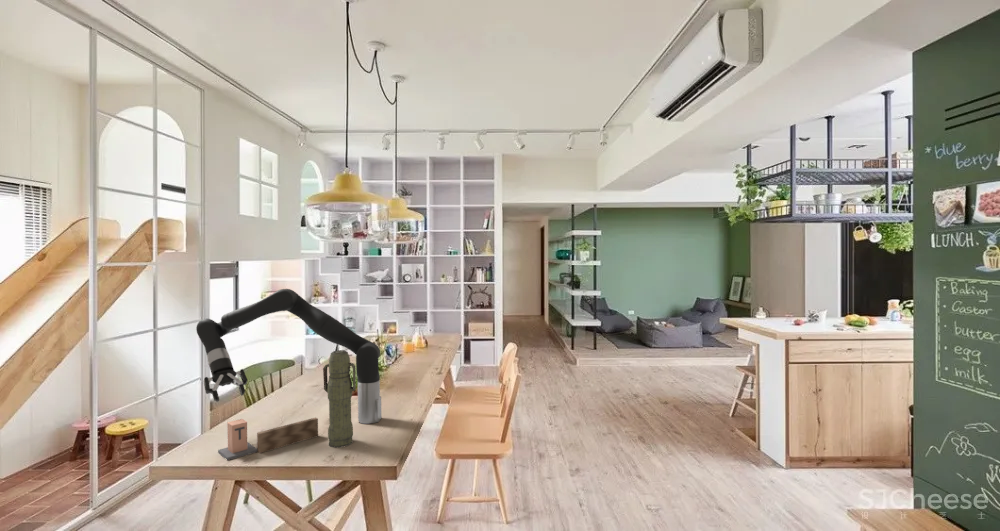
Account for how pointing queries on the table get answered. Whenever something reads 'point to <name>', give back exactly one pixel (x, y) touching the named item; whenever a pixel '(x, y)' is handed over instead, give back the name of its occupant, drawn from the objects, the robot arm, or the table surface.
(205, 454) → the table surface
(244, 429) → the marked block
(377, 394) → the robot arm
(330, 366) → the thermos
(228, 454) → the charcoal mat
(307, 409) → the table surface
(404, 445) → the table surface
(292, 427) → the walnut screen
